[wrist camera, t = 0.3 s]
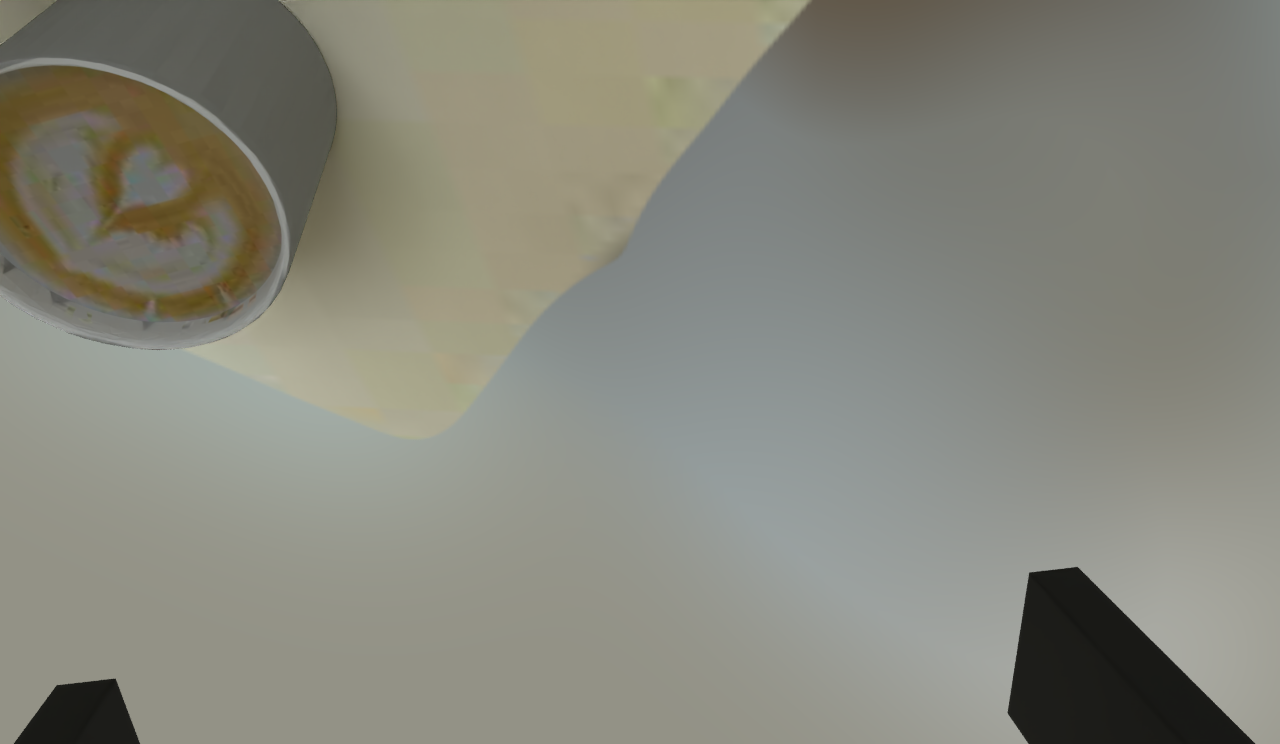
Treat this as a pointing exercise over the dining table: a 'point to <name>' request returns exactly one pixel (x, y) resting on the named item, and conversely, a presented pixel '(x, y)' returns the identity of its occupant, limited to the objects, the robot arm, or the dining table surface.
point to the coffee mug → (157, 165)
